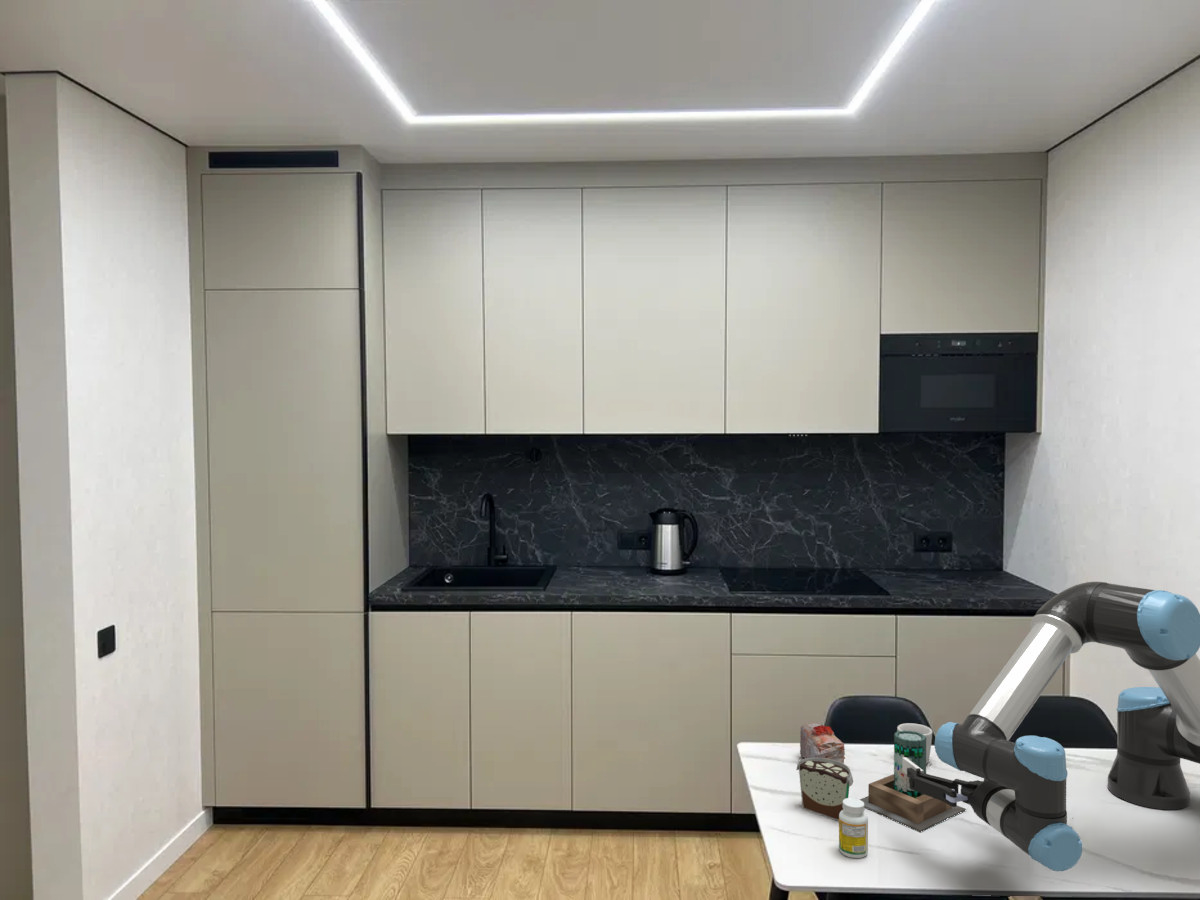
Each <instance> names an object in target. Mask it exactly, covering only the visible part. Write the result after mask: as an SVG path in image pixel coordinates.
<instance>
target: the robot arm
mask: <svg viewBox="0 0 1200 900" xmlns="http://www.w3.org/2000/svg"><path fill="white" fill-rule="evenodd" d="M1029 624H1030V625H1029V626H1030V629H1031V630H1030V631H1029V632H1028V634H1027V635H1026V637H1024V639H1023V640H1022V641H1021V643H1020V645H1019V646H1018V647H1017V648H1016V650H1015V651H1014V653H1013V654H1012V656H1011V657H1010V658H1009V660H1008V661H1007V662H1006V664H1005V665H1004V666H1003V668H1002V669H1001V671H999V673H998V674H997V676H996V677H995V679H994V680H993V681H992V682H991V684H990V685H989V687H987V690H986V691H985V692H984V693H983V695H982V696H981V698H980V699H979V700H978V702H977V703H976V704H975V706H974V707H973V709H971V712H970V713H969V714H968V715H967V717H965V719H964V720H963V722H962V723H959V722H952V721H948V722H946V723H944V724H942V725H940V727H939V728H938V730H937V732H936V735H935V739H934V751H935V753H936V756H937V757H938V759H939V761H941V762H942V763H944V764H946V765H948V766H950V767H952V768H954V769H956V770H958V771H960V772H965V773H968V774H970V775H974V776H976V777H979V778H982V779H983V780H973V781H971V780H969V781H967V780H963V779H959V778H955V779H953V780H952V779H948V778H944V777H939V776H936V775H932V774H928V773H926V774H925V773H924V770H922V769H921V768H920V767H918V766H917V765H916V764H914V763H913V762H911V761H910V760H909V759H907V758H906V757H903V758H902V771H903V772H904V773H906V774H907V777H909V788H910V789H912V790H914V791H917V792H920V793H922V794H925V795H927V796H930V797H933V798H935V799H938V800H940V801H943V802H945V803H947V804H948V805H950V806H952V807H956V806H958V803H959V802H962V803H964V804H967V805H969V806H970V807H971V808H972V810H973V813H975V815H976V816H977V817H978V818H979V819H981V820H982V821H983V822H985V823H986V824H987V825H988V826H990V827H992V828H993V829H995V831H997V832H998V833H1000V834H1001V835H1002V836H1004V837H1005V838H1007V840H1009V841H1010V842H1012V843H1013V844H1014V845H1016V846H1017V847H1018V848H1019V849H1020V850H1022V851H1023V852H1024V853H1026V854H1027V855H1028V856H1029V857H1030V858H1031V859H1032V860H1034V861H1035V862H1037V863H1039V864H1040V865H1042V866H1043V867H1045V868H1047V869H1049V870H1050V871H1054V872H1065V871H1068V870H1070V869H1072V868H1074V867H1075V866H1076V864H1078V863H1079V860H1080V859H1081V857H1082V854H1083V841H1082V840H1081V837H1080V835H1079V833H1077V831H1075V829H1073V827H1072V826H1070V825H1069V824H1068V811H1067V778H1068V770H1067V760H1066V751H1065V748H1064V747H1063V746H1062V745H1061V744H1060V743H1059V742H1058V741H1056V740H1054V739H1052V738H1049V737H1046V736H1043V737H1041V736H1038V735H1023V736H1020V737H1018V738H1017V739H1016V740H1015V742H1013V741H1010V740H1011V738H1012V736H1013V735H1014V734H1015V732H1016V731H1017V729H1018V727H1019V726H1020V725H1021V724H1022V723H1023V720H1024V719H1025V717H1026V716H1027V715H1028V713H1029V712H1030V711H1031V710H1032V708H1033V707H1034V705H1035V704H1036V703H1037V700H1038V699H1039V697H1041V695H1042V694H1043V692H1044V691H1045V689H1046V688H1047V686H1048V685H1049V684H1050V682H1051V680H1052V679H1053V678H1054V676H1055V675H1056V673H1057V672H1058V671H1059V669H1060V668H1061V667H1062V665H1063V663H1064V662H1065V661H1066V659H1067V658H1068V656H1069V655H1071V654H1075V653H1078V652H1079V651H1080V650H1081V649H1082V647H1083V646H1084V645H1085V644H1087V643H1098V644H1100V645H1101V644H1102V645H1105V646H1110V647H1116V648H1120V649H1123V650H1124V651H1125V652H1126V654H1127V656H1128V657H1129V658H1130V659H1131V661H1132V662H1133V663H1134V664H1136V665H1137V666H1139V667H1141V668H1142V669H1145V670H1148V671H1149V673H1150V675H1151V676H1152V678H1153V679H1154V681H1155V682H1156V684H1157V685H1158V687H1156V686H1138V687H1137V686H1135V687H1129V688H1126V689H1123V690H1122V691H1120V693H1119V694H1118V698H1117V699H1118V700H1117V707H1116V711H1117V716H1116V717H1117V718H1116V720H1117V722H1116V723H1117V724H1116V726H1117V728H1116V730H1117V733H1116V734H1117V736H1116V737H1117V738H1116V739H1117V740H1116V741H1117V742H1116V745H1117V747H1116V755H1115V758H1114V761H1113V764H1112V765H1111V768H1110V771H1109V773H1108V775H1107V789H1108V791H1109V790H1110V791H1111V792H1112V793H1111V792H1110V791H1109V792H1110V793H1111V794H1112V795H1114V794H1115V796H1116V797H1117V796H1118V797H1117V798H1119V797H1120V798H1119V799H1121V798H1122V800H1123V799H1124V801H1126V802H1129V803H1132V804H1135V805H1137V806H1142V807H1146V808H1151V809H1157V810H1181V809H1184V808H1187V807H1188V806H1190V802H1191V801H1190V799H1191V798H1190V795H1191V793H1190V788H1189V786H1188V784H1187V781H1186V778H1185V776H1184V773H1183V770H1182V766H1181V759H1183V760H1185V761H1190V762H1193V763H1196V764H1199V765H1200V658H1199V656H1198V655H1197V653H1198V651H1199V649H1200V611H1199V610H1198V607H1197V606H1196V604H1194V603H1193V601H1192V600H1191V599H1189V598H1188V597H1187V596H1184V595H1181V594H1177V593H1173V592H1170V591H1167V590H1162V589H1158V590H1157V589H1156V590H1155V589H1150V588H1143V587H1142V588H1141V587H1135V586H1129V585H1122V584H1117V583H1116V584H1115V583H1109V582H1105V581H1087V582H1083V583H1079V584H1075V585H1072V586H1070V587H1068V588H1066V589H1064V590H1063V591H1060V592H1059V593H1057V594H1056V595H1054V596H1053V597H1051V598H1050V599H1049V600H1048V601H1046V602H1045V603H1044V604H1043V605H1041V607H1040V608H1039V609H1038V610H1037V611H1036V612H1035V615H1033V617H1032V618H1031V620H1030V623H1029ZM959 786H961V787H960V792H959Z"/></svg>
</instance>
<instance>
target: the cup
mask: <svg viewBox="0 0 1200 900" xmlns="http://www.w3.org/2000/svg"><path fill="white" fill-rule="evenodd" d="M896 728H897V729H896V732H898V731H904V730H905V731H915V732H918V733H921V734H923V735H925V736H926V764H927V763H928V762H929V761H930V755H931V748H932V739H933V729H931V728H930V727H929V726H927V725H924V724H918V723H912V722H911V723H909V722H907V723H906V722H905V723H901V724H898V725H897V727H896Z"/></svg>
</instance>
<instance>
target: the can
mask: <svg viewBox="0 0 1200 900" xmlns="http://www.w3.org/2000/svg"><path fill="white" fill-rule="evenodd" d="M893 745H894V746H893V774H894V790H896V791H898V792H901V793H903V794H906V795H908V796H911V797H913V798H917V797H919V796H922V795H924V794H922V793H920V792H917V791H914V790H912V789H910V788H909V777H907V774H906V773H904V772H903V771H902V758H903V757H906V758H907V759H909V760H910V761H911V762H913V763H914V764H916V765H917V766H918V767H920V768H921V769H922V770H924V773H925V774H927V763H926V736H925V735H923V734H921V733H918V732H915V731H905V730H904V731H896V732H894V734H893Z"/></svg>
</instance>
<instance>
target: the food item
mask: <svg viewBox="0 0 1200 900" xmlns="http://www.w3.org/2000/svg"><path fill="white" fill-rule="evenodd" d="M799 740H800V742H799V749H800V750H799V753H800V756H801V757H803V758H804V759H807V758H825V759H831V760H835V761H838V762H841V763H843V764H845V759H846V757H845V755H846V751H845V750H846V749H845V743H844V742H842V741H841V739H839V738H838V737H837V736H836V735H835V732H834V731H833V730H832V727H831V726H829V725H828V726H827V725H823V724H821V723H813V722H812V723H808V724H803V725H801V726H800V739H799Z"/></svg>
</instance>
